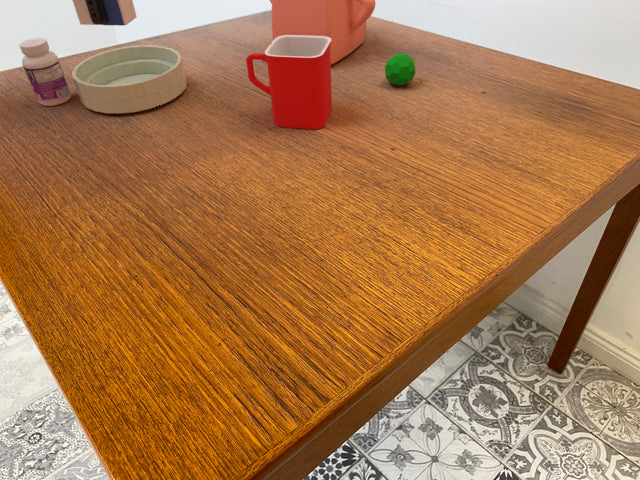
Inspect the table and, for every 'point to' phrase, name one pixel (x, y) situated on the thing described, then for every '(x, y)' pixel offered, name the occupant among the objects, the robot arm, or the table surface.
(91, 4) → the robot arm
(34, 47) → the pill bottle
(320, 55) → the mug
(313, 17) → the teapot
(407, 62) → the polyhedron
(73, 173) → the table surface
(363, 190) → the table surface
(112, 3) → the eraser
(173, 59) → the bowl
